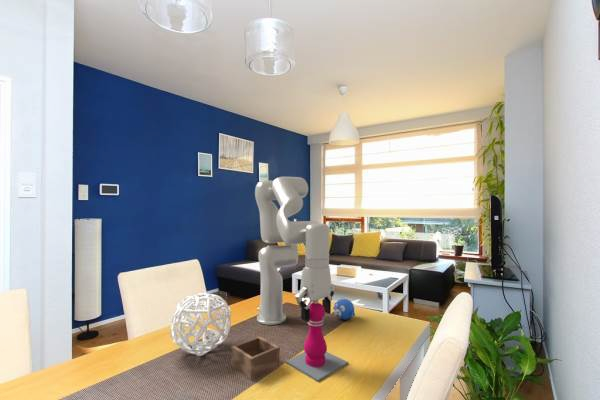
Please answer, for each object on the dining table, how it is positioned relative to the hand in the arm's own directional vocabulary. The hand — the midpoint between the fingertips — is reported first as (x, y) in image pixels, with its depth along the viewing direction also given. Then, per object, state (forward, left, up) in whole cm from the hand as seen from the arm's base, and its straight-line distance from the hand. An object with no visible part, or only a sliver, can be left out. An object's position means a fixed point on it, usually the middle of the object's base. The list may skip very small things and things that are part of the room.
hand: (316, 316), depth 97 cm
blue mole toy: (-17, +34, -15) cm, 41 cm away
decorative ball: (-32, -23, -15) cm, 42 cm away
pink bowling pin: (0, -1, -14) cm, 14 cm away
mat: (0, 0, -15) cm, 15 cm away
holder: (-12, -15, -15) cm, 24 cm away
